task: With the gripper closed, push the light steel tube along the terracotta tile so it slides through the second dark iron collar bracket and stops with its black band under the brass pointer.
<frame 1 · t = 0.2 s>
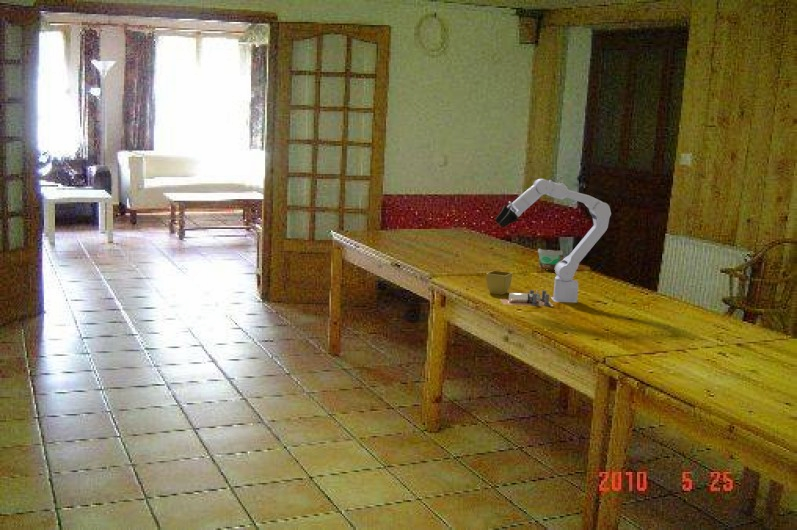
hand: (498, 223, 330), 31 cm above the table, tool tilted 45°, fingers open, 7 cm apart
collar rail: (538, 304, 330), resting on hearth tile
flower pot: (498, 294, 345), on the table
tube: (523, 302, 330), point 1 cm above the table, tilted 7°, touching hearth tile
food container: (548, 270, 403), on the table
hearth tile: (526, 303, 330), on the table
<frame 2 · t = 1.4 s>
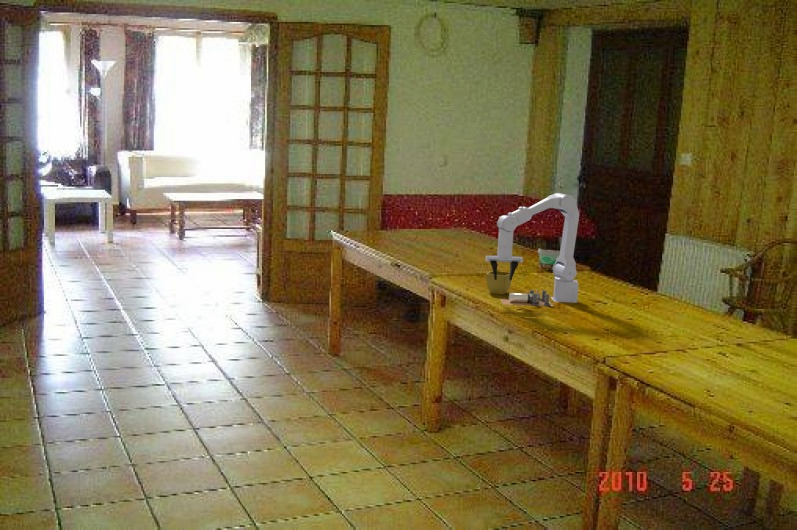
hand: (502, 279, 328), 9 cm above the table, tool pointing down, fingers open, 5 cm apart
tube: (523, 302, 330), point 1 cm above the table, tilted 16°, touching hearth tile
everything else where it was.
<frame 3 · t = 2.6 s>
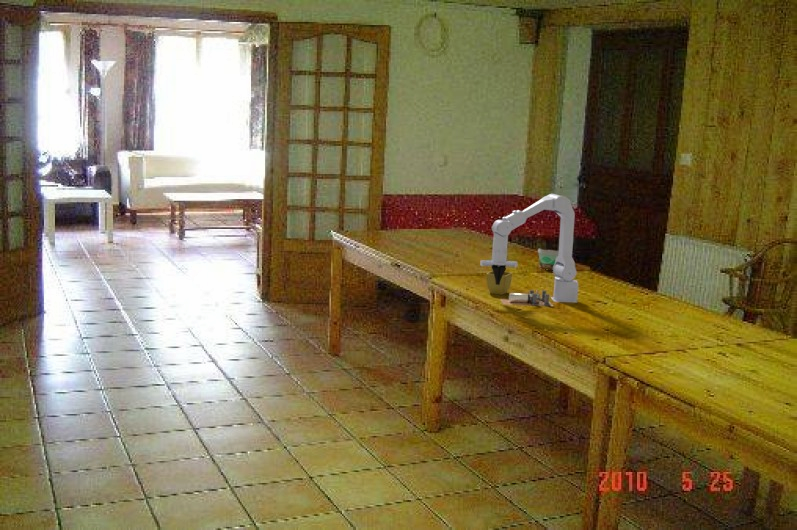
hand: (497, 284, 328), 8 cm above the table, tool pointing down, fingers closed
nothing on the table moved.
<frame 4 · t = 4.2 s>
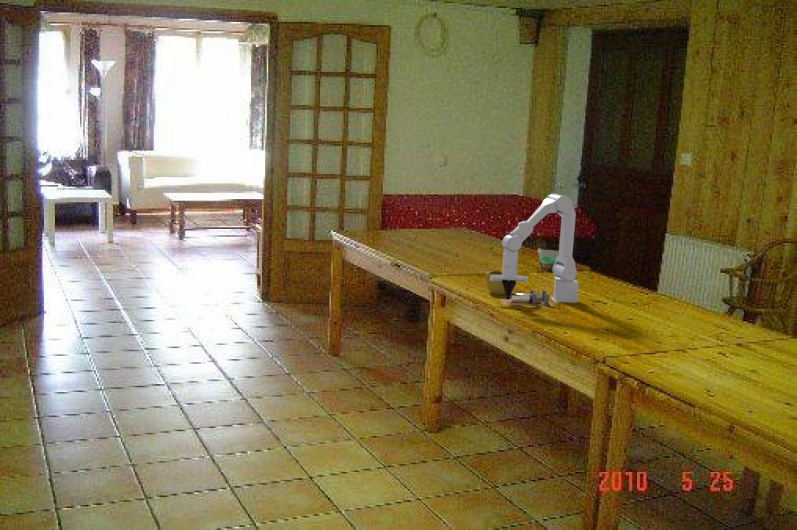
hand: (507, 298, 329), 2 cm above the table, tool pointing down, fingers closed
tube: (525, 302, 330), point 1 cm above the table, tilted 17°, touching gripper
everything else where it was.
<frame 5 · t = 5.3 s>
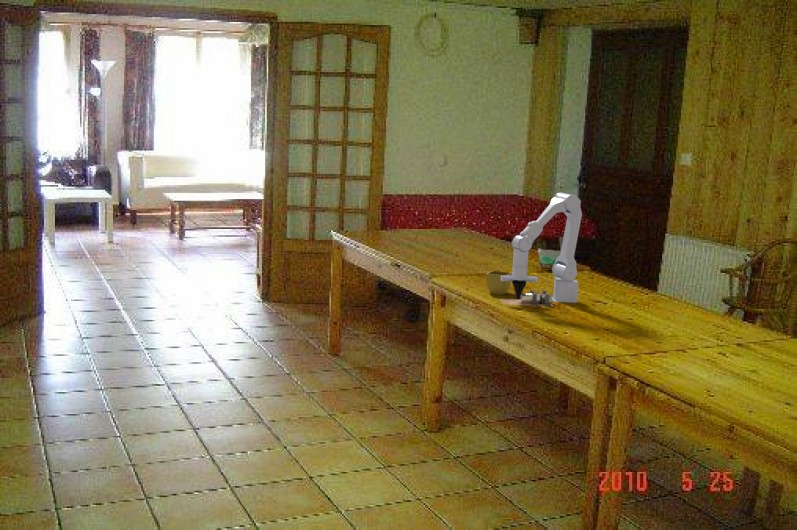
hand: (517, 299, 330), 2 cm above the table, tool pointing down, fingers closed
tube: (535, 302, 330), point 1 cm above the table, tilted 18°, touching gripper, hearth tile
everything else where it was.
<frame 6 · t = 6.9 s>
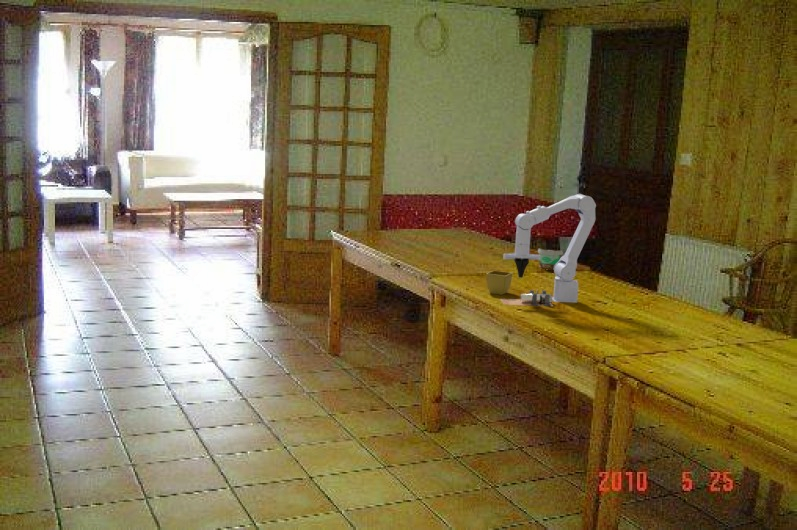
hand: (520, 277, 333), 10 cm above the table, tool pointing down, fingers closed
tube: (535, 302, 330), point 1 cm above the table, tilted 20°, touching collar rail, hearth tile
everything else where it was.
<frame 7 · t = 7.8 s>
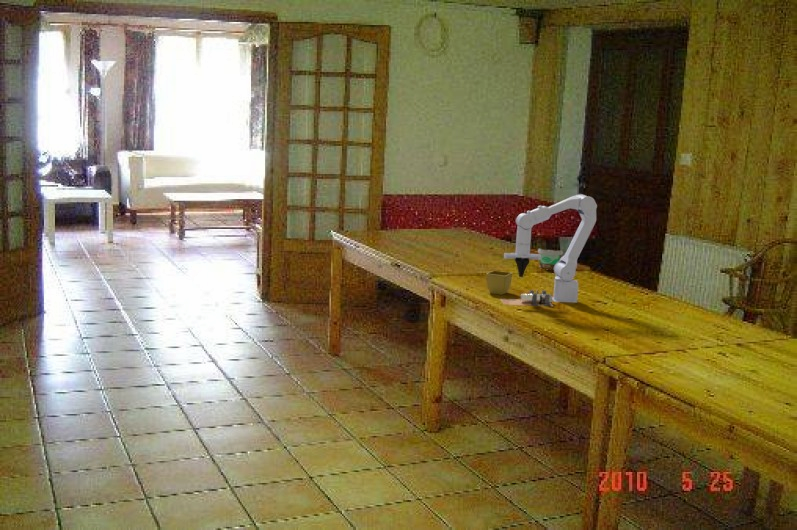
hand: (520, 276, 333), 10 cm above the table, tool pointing down, fingers closed
nothing on the table moved.
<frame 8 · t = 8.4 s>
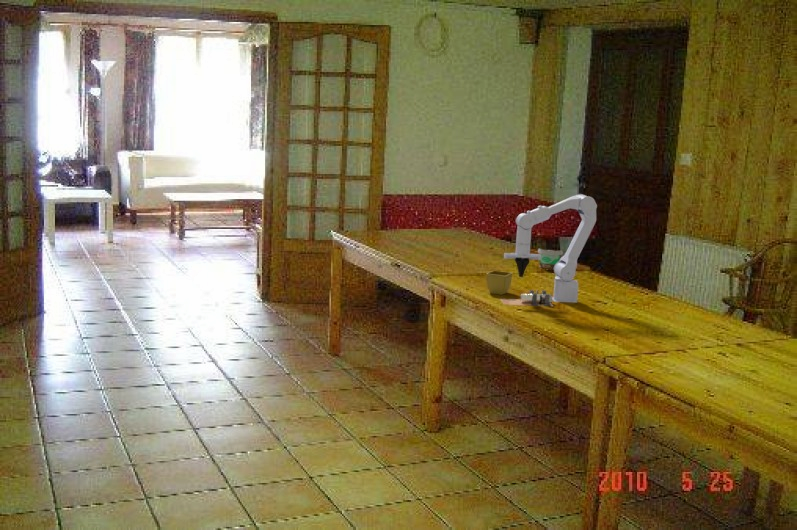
hand: (520, 276, 333), 10 cm above the table, tool pointing down, fingers closed
nothing on the table moved.
at the end: tube 0.3 cm from the target spot on the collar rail, point 0.6 cm above the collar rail's base; tube point 0.6 cm above the table; tube moved 4.8 cm from its start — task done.
